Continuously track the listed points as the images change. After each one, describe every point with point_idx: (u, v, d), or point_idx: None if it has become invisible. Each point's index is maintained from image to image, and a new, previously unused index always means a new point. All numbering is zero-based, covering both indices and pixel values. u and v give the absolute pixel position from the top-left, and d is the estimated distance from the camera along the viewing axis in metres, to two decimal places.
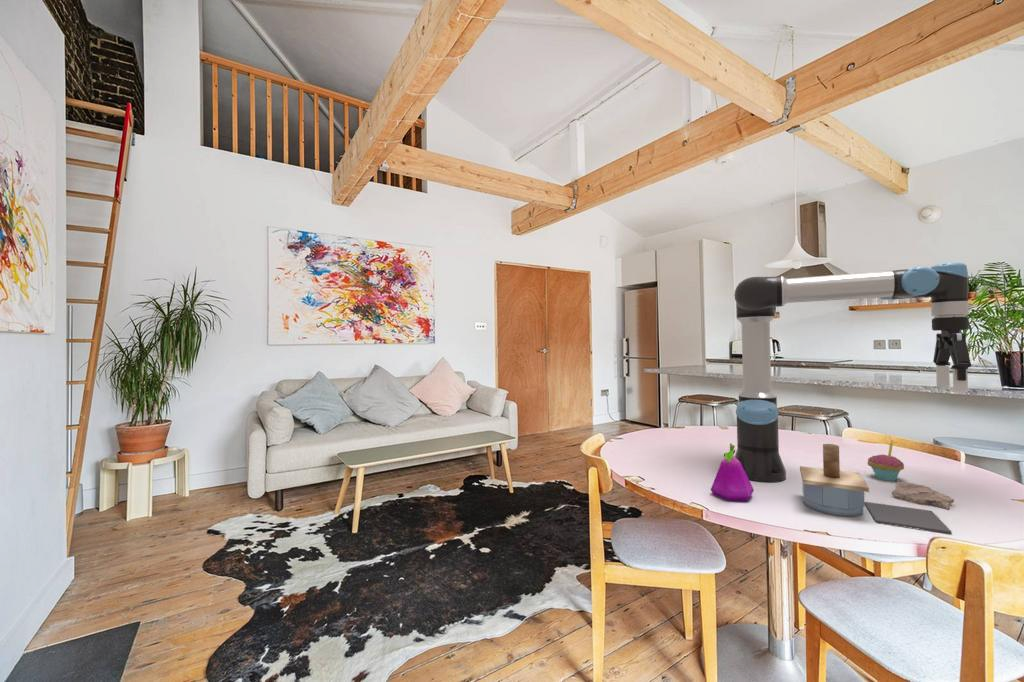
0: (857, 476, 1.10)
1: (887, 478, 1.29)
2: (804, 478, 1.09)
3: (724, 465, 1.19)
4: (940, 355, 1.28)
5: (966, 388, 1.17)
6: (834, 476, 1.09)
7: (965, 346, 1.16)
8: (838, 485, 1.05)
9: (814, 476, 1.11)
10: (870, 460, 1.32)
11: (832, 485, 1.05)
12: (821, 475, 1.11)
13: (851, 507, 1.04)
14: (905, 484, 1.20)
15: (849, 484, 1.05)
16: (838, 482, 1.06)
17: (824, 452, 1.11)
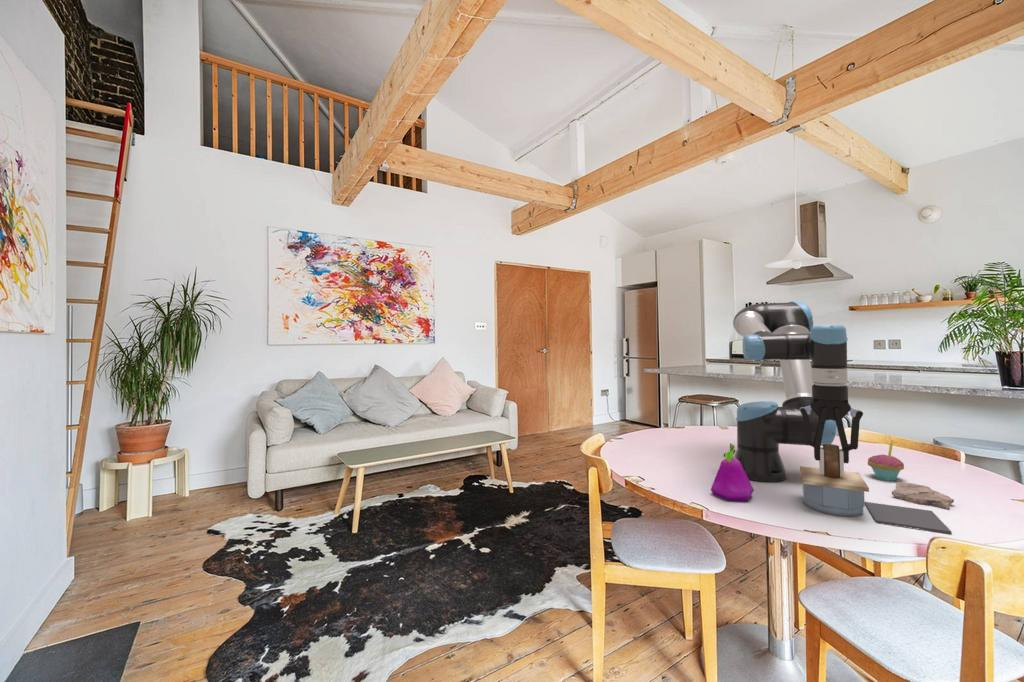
0: (857, 476, 1.10)
1: (887, 478, 1.29)
2: (804, 478, 1.09)
3: (724, 466, 1.19)
4: (838, 432, 1.11)
5: (820, 469, 1.11)
6: (834, 476, 1.09)
7: (804, 423, 1.13)
8: (838, 485, 1.05)
9: (814, 476, 1.11)
10: (870, 460, 1.32)
11: (832, 485, 1.05)
12: (821, 475, 1.11)
13: (851, 507, 1.04)
14: (905, 484, 1.20)
15: (849, 484, 1.05)
16: (838, 482, 1.06)
17: (824, 452, 1.11)
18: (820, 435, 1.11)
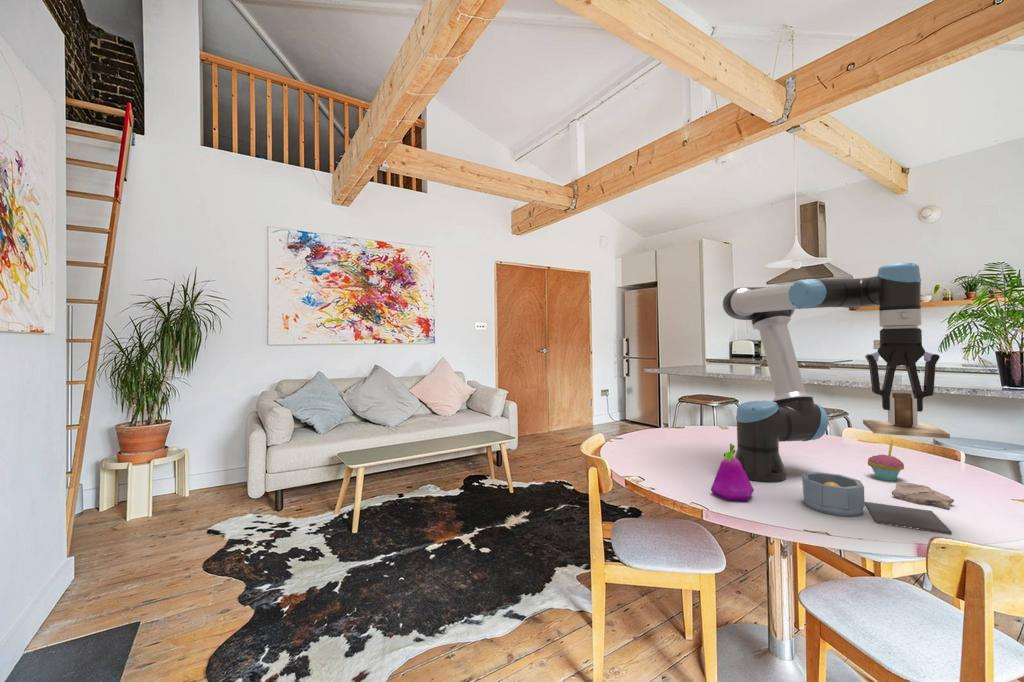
0: (931, 426, 1.02)
1: (887, 478, 1.29)
2: (874, 428, 1.01)
3: (724, 465, 1.19)
4: (909, 379, 1.03)
5: (890, 419, 1.03)
6: (906, 425, 1.01)
7: (871, 370, 1.05)
8: (914, 433, 0.97)
9: (884, 426, 1.03)
10: (870, 460, 1.32)
11: (907, 433, 0.98)
12: (891, 426, 1.03)
13: (851, 507, 1.04)
14: (905, 484, 1.20)
15: (926, 431, 0.97)
16: (913, 430, 0.98)
17: (894, 400, 1.03)
18: (890, 382, 1.03)
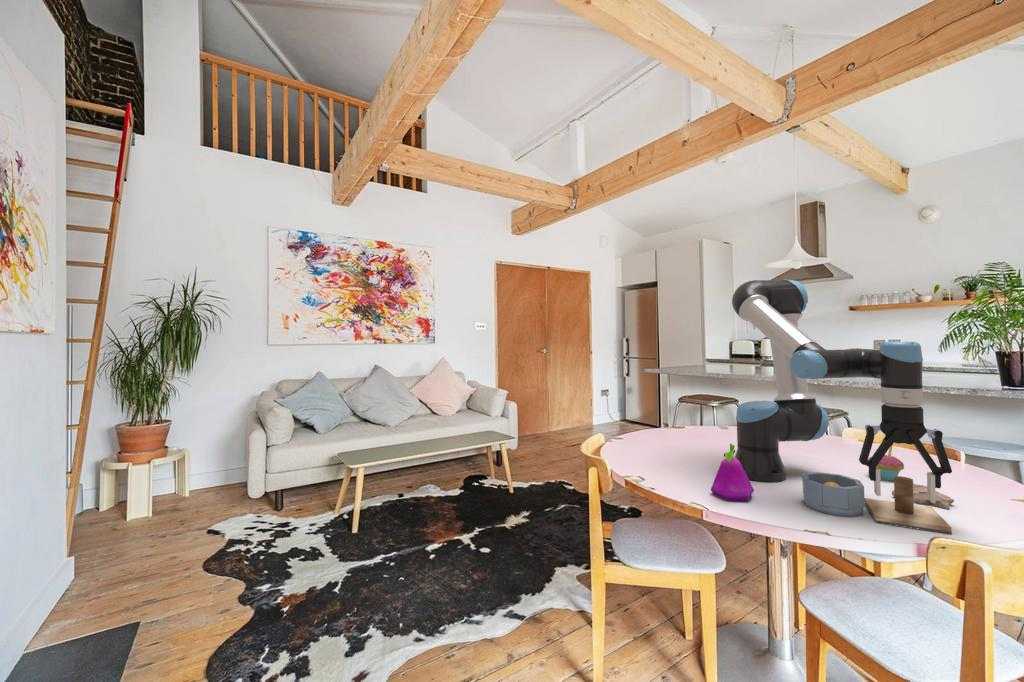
0: (932, 512, 1.02)
1: (887, 478, 1.29)
2: (875, 514, 1.02)
3: (724, 465, 1.19)
4: (921, 455, 1.02)
5: (876, 490, 1.05)
6: (907, 512, 1.01)
7: (866, 441, 1.06)
8: (915, 523, 0.97)
9: (885, 511, 1.03)
10: None
11: (909, 523, 0.98)
12: (892, 510, 1.04)
13: (851, 507, 1.04)
14: None
15: (928, 522, 0.97)
16: (915, 519, 0.98)
17: (896, 485, 1.03)
18: (881, 456, 1.04)
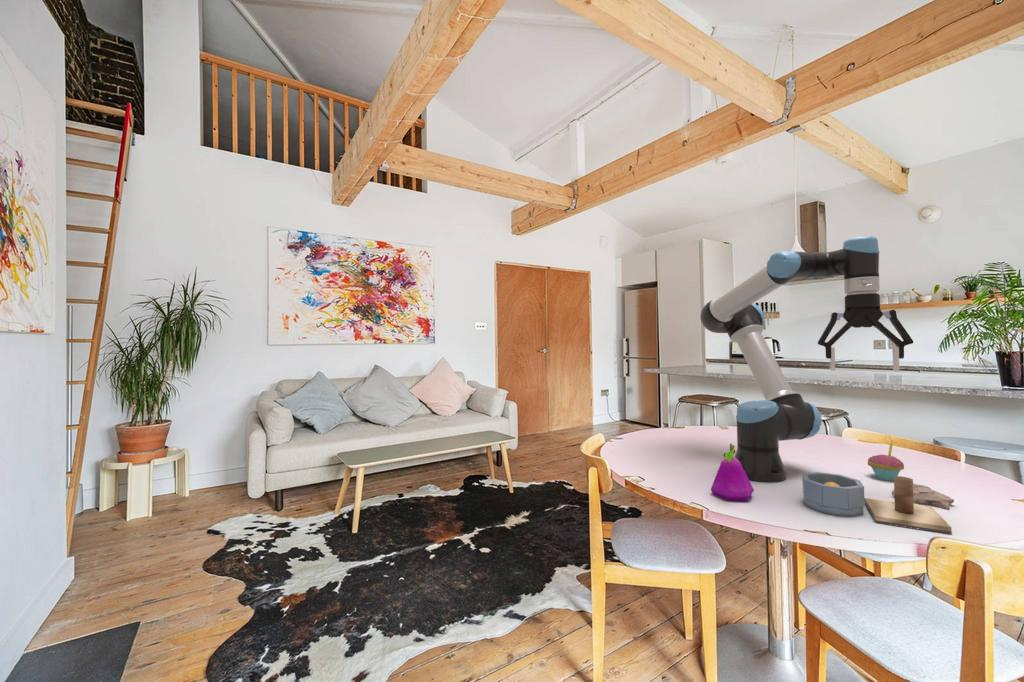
0: (932, 512, 1.02)
1: (887, 478, 1.29)
2: (875, 514, 1.02)
3: (724, 465, 1.19)
4: (884, 334, 1.15)
5: (831, 366, 1.20)
6: (907, 512, 1.01)
7: (828, 325, 1.20)
8: (915, 523, 0.97)
9: (885, 511, 1.03)
10: (870, 460, 1.32)
11: (909, 523, 0.98)
12: (892, 510, 1.04)
13: (851, 507, 1.04)
14: None
15: (928, 522, 0.97)
16: (915, 519, 0.98)
17: (896, 485, 1.03)
18: (837, 337, 1.19)
